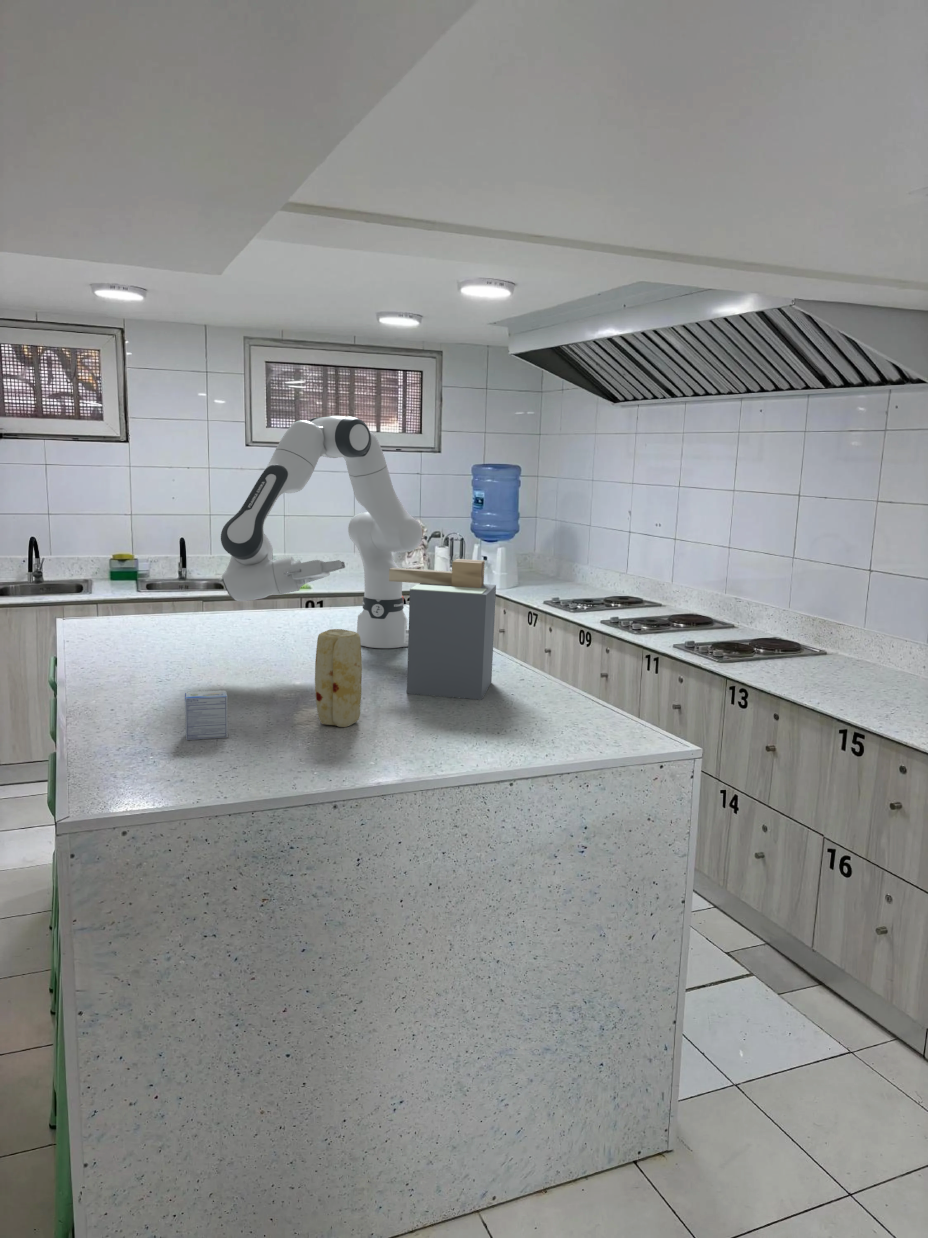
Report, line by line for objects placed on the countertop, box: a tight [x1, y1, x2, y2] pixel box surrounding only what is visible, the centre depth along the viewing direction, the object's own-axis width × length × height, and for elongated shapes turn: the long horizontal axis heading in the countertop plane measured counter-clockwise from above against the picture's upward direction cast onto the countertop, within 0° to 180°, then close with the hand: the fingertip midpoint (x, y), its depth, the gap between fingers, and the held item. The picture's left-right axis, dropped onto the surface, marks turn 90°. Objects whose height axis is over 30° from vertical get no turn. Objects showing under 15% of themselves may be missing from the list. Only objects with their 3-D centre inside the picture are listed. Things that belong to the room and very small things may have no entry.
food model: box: [314, 628, 363, 728], centre depth 182 cm, size 10×7×20 cm
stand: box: [406, 583, 497, 701], centre depth 214 cm, size 17×18×25 cm
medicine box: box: [184, 689, 229, 741], centre depth 172 cm, size 8×4×9 cm, turn 108°
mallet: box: [389, 558, 486, 588], centre depth 217 cm, size 6×23×6 cm, turn 80°
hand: (343, 563), depth 222 cm, fingers open, 8 cm apart
